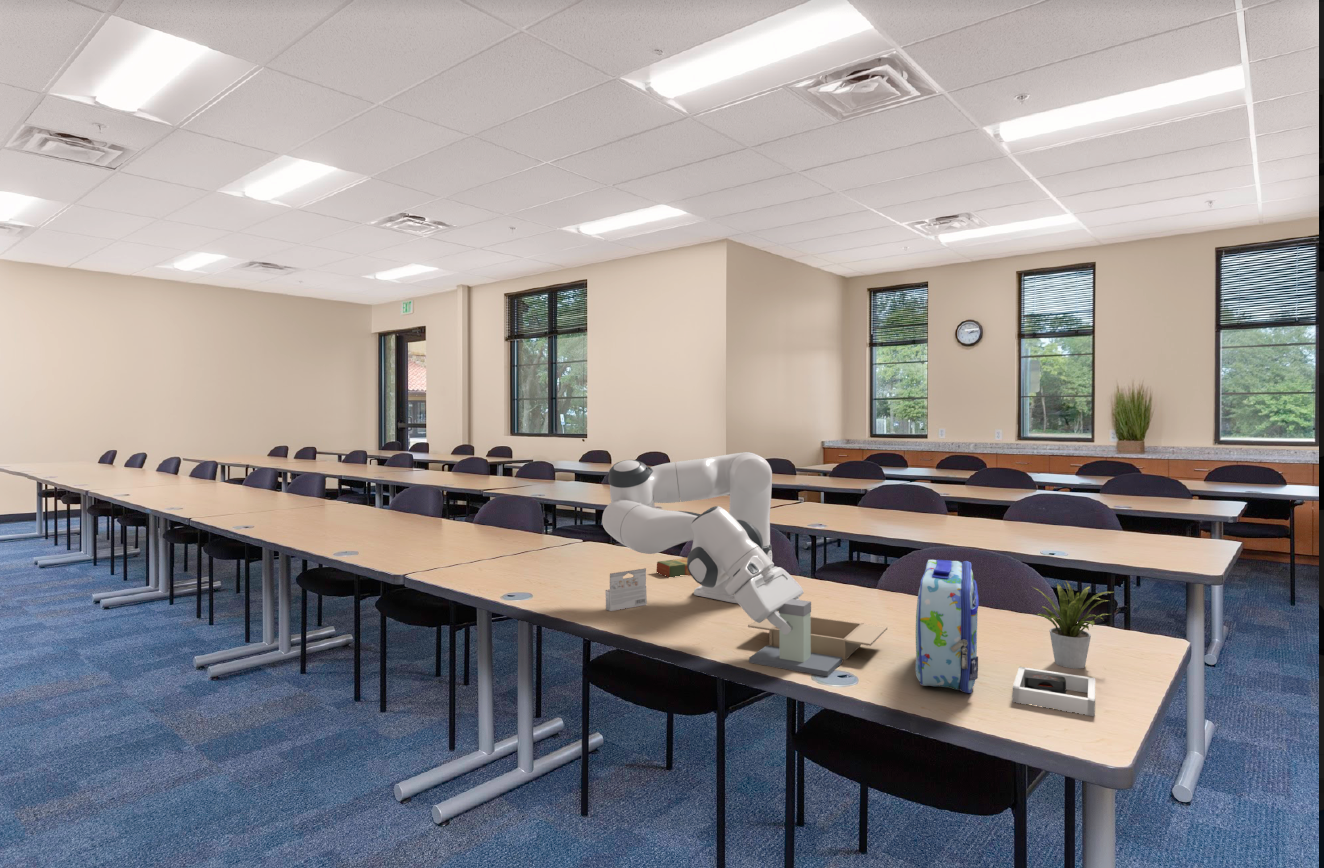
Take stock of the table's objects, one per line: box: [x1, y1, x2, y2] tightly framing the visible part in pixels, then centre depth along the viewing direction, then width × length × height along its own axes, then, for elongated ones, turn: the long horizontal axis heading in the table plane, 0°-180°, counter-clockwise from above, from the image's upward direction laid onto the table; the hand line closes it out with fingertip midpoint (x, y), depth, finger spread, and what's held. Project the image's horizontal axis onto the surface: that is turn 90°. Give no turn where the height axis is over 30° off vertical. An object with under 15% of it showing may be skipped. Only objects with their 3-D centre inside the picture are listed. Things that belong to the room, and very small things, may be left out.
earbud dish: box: [1011, 666, 1096, 717], centre depth 126 cm, size 12×12×2 cm
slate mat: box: [748, 644, 843, 677], centre depth 145 cm, size 16×9×1 cm, turn 59°
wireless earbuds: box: [1024, 673, 1067, 694], centre depth 126 cm, size 5×7×3 cm, turn 68°
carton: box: [656, 557, 691, 578], centre depth 230 cm, size 8×16×4 cm, turn 119°
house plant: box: [1032, 580, 1113, 670], centre depth 141 cm, size 14×14×16 cm
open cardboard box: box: [747, 611, 888, 661], centre depth 156 cm, size 26×14×4 cm, turn 59°
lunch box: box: [915, 559, 980, 694], centre depth 137 cm, size 26×11×21 cm, turn 157°
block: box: [778, 599, 812, 662], centre depth 144 cm, size 5×4×11 cm
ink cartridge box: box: [604, 567, 648, 612], centre depth 188 cm, size 2×11×10 cm, turn 123°
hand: (798, 626), depth 144 cm, fingers open, 8 cm apart
